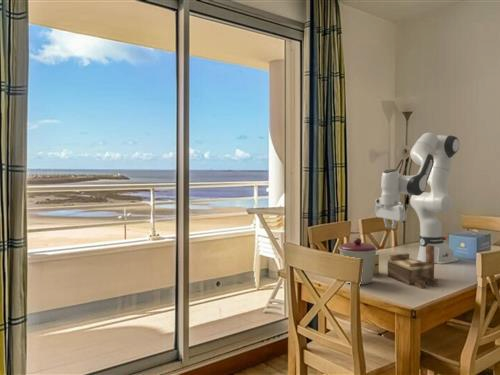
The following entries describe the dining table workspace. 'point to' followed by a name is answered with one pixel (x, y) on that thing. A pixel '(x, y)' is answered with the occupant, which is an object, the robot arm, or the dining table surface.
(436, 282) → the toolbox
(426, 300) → the dining table surface
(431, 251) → the reddish brown cylinder
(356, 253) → the canister
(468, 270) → the dining table surface
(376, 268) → the puzzle cube
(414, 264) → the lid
